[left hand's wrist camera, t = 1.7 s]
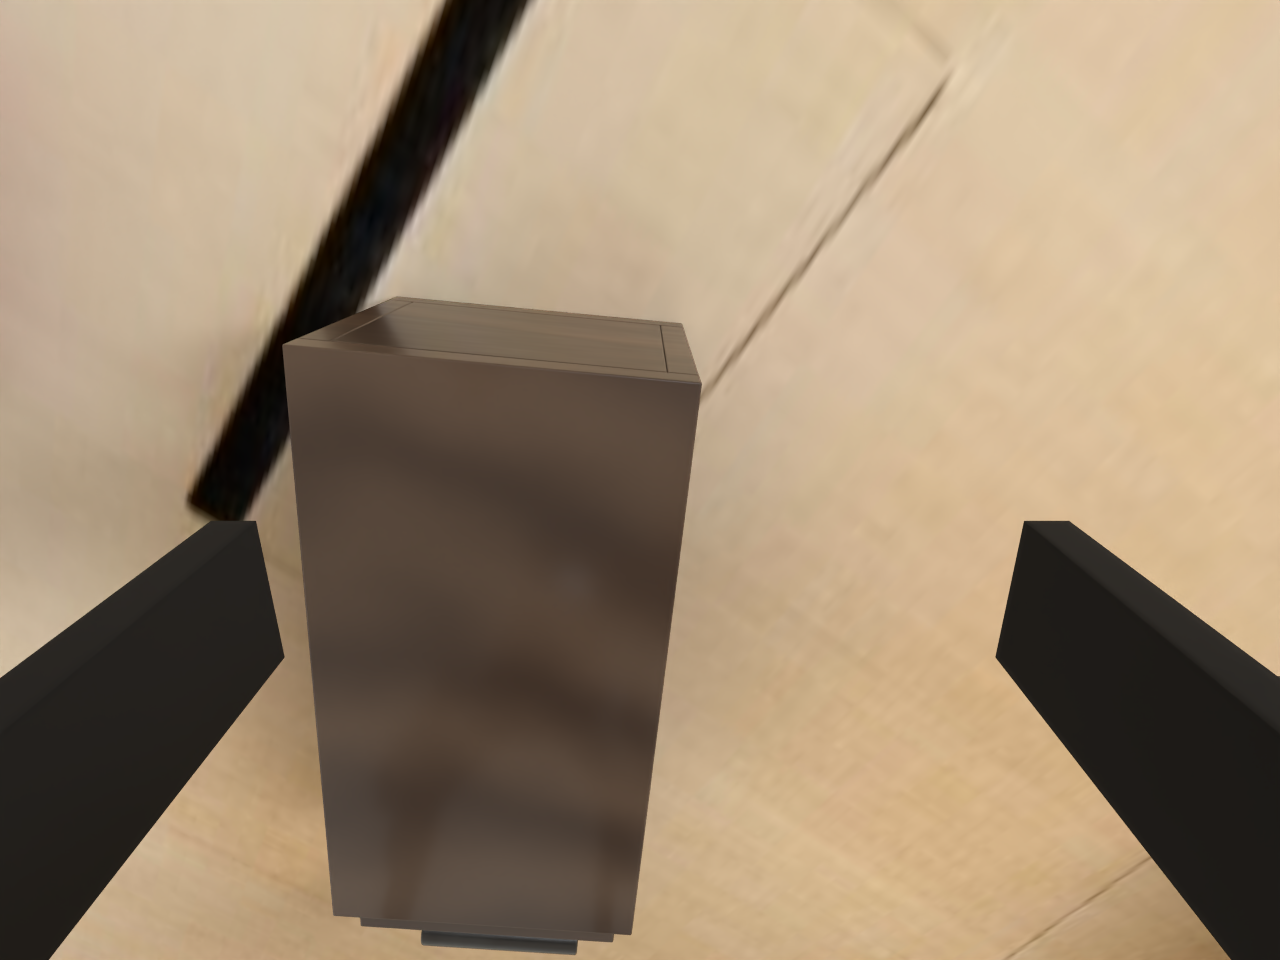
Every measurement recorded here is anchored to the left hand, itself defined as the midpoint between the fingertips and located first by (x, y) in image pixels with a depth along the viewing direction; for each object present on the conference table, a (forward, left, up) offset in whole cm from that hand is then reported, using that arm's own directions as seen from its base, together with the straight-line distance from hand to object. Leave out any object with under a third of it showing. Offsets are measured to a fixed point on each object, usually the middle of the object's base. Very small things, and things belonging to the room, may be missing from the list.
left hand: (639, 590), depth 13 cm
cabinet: (+7, -7, -18) cm, 21 cm away
